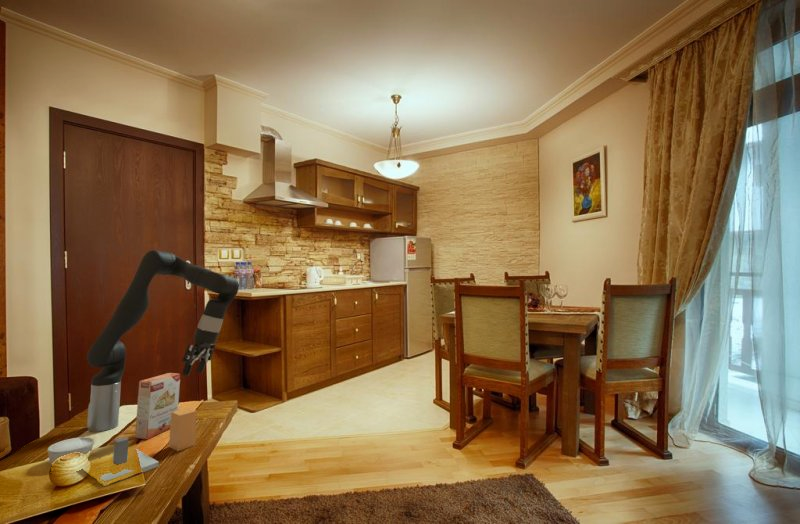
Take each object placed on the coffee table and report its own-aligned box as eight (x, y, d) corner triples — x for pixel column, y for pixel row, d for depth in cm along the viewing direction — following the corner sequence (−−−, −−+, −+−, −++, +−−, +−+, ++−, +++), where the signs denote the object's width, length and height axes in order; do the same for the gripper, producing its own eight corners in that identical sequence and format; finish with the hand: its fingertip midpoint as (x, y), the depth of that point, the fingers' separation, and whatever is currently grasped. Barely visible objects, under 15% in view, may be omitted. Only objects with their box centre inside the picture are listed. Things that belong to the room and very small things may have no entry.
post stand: (80, 468, 114) (82, 440, 115) (132, 451, 126) (134, 425, 126) (104, 486, 104) (106, 455, 105) (158, 466, 116) (160, 439, 117)
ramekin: (101, 454, 123) (102, 438, 124) (65, 471, 112) (66, 453, 113) (75, 451, 126) (76, 435, 126) (36, 466, 115) (38, 449, 115)
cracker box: (148, 440, 135) (151, 382, 136) (134, 438, 136) (137, 380, 137) (178, 426, 148) (181, 373, 150) (165, 424, 150) (168, 371, 151)
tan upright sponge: (169, 446, 130) (171, 412, 131) (186, 441, 135) (187, 407, 135) (177, 451, 127) (179, 415, 127) (194, 445, 132) (196, 410, 132)
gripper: (209, 326, 141) (193, 368, 138) (187, 325, 127) (169, 372, 124) (227, 331, 140) (212, 374, 138) (207, 331, 126) (190, 379, 124)
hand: (192, 373), depth 131 cm, fingers open, 8 cm apart
